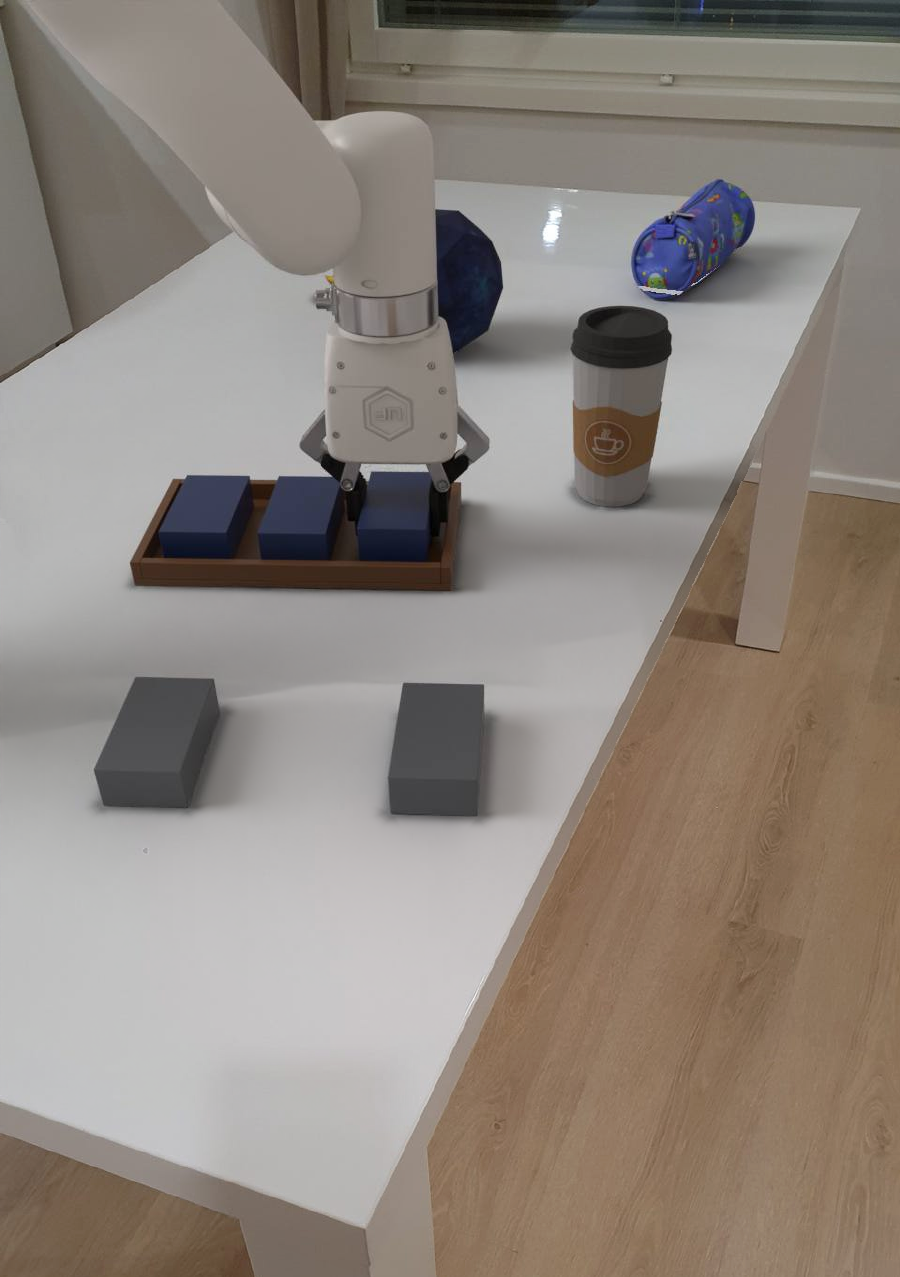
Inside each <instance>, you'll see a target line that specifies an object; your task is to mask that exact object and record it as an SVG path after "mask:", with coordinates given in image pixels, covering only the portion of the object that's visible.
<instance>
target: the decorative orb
mask: <svg viewBox="0 0 900 1277" xmlns="http://www.w3.org/2000/svg"><path fill="white" fill-rule="evenodd" d="M435 219H436V259H437V284H438V316H439V317H442V318H443V319H444V320H445V321H446V323H447V327H448V331H449V335H450V340H451V345H452V351H453V355H454V354H456V353H457V352H459V351H461V350H462V349H463V348H466V346H468V345H469V344H471V343H472V342H474V341H475V340H477V339H478V338H479V337H481V336H483V335H484V334H485V333H487V332H488V331H489V329H490V327H491V324H492V321H493V318H494V316H495V313H496V309H497V308H498V304H499V301H500V298H501V295H502V292H503V290H504V278H503V267H502V260H501V258H500V256H499V254H498V251H497V249H496V247H495V245H494V241H493V240H491V238H490V237H488V235H487V234H486V233H485V232H484V231H483V230H482V229H481V228H480V227H479V226H478V225H476V224H475V223H474V222H473V221H471V220H470V218H468V217H467V216H466V215H465V214H464V213H462V212H461V211H460V210H455V209H437V208H435Z"/></svg>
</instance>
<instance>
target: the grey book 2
mask: <svg viewBox="0 0 900 1277" xmlns="http://www.w3.org/2000/svg"><path fill="white" fill-rule="evenodd" d="M398 704H399V707H398V711H397V717H396V723H395V724H396V725H395V731H394V736H393V744H392V748H391V749H392V750H391V755H390V761H389V768H388V774H387V786H388V800H389V812H390V814H392V815H393V814H395V815H433V816H435V815H436V816H463V817H464V816H467V817H477V816H478V815H479V804H480V803H479V802H480V787H481V774H482V756H483V744H484V743H483V742H484V728H485V684H484V683H482V684H481V683H441V682H440V683H438V682H437V683H436V682H402V687H401V693H400V698H399V703H398Z"/></svg>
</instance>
